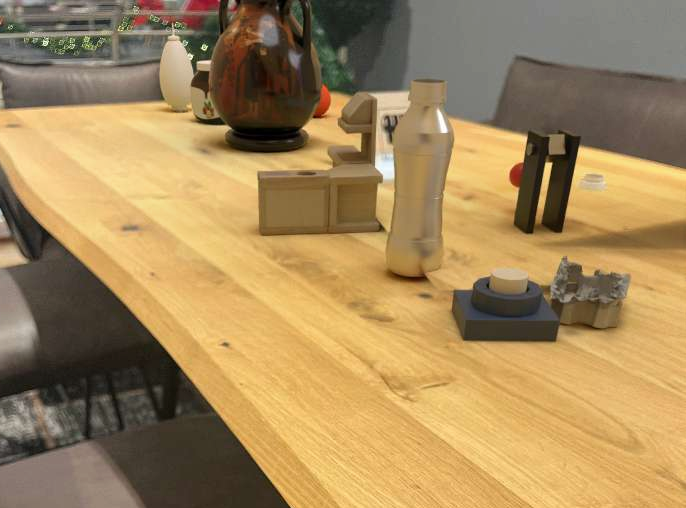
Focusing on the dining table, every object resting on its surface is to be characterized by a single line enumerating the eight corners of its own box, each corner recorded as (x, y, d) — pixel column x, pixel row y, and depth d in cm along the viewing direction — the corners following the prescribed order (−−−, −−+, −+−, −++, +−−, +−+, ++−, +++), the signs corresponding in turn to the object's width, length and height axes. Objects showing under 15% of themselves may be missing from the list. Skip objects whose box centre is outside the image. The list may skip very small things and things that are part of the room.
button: (521, 284, 76) (524, 267, 75) (529, 297, 74) (532, 279, 72) (485, 284, 76) (488, 266, 75) (492, 297, 74) (495, 279, 72)
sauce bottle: (181, 114, 178) (173, 24, 167) (156, 111, 181) (147, 22, 171) (202, 110, 183) (197, 22, 173) (177, 107, 186) (170, 20, 176)
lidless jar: (612, 199, 119) (597, 191, 123) (617, 179, 117) (601, 171, 121) (582, 200, 118) (568, 192, 122) (586, 179, 116) (572, 172, 120)
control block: (536, 311, 80) (543, 273, 78) (556, 342, 74) (564, 302, 71) (451, 309, 80) (455, 272, 78) (463, 341, 74) (468, 301, 71)
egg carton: (554, 289, 86) (562, 253, 83) (624, 299, 84) (634, 262, 81) (540, 322, 78) (547, 282, 75) (617, 334, 75) (627, 294, 73)
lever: (506, 191, 105) (504, 167, 105) (527, 190, 106) (526, 167, 106) (545, 157, 94) (543, 131, 93) (569, 157, 94) (568, 130, 94)
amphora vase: (339, 140, 154) (344, -28, 138) (288, 160, 139) (287, -26, 122) (248, 130, 162) (243, -30, 146) (190, 148, 147) (176, -29, 130)
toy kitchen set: (249, 199, 116) (245, 87, 107) (356, 196, 118) (361, 86, 109) (261, 236, 101) (258, 109, 92) (384, 231, 103) (392, 107, 94)
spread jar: (187, 121, 170) (182, 61, 164) (220, 114, 178) (217, 57, 171) (228, 127, 165) (225, 66, 158) (260, 120, 173) (259, 61, 166)
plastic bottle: (434, 287, 86) (455, 86, 74) (376, 279, 88) (388, 82, 76) (446, 269, 91) (468, 79, 79) (391, 262, 93) (404, 75, 81)
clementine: (319, 112, 182) (320, 79, 178) (339, 116, 178) (341, 82, 174) (294, 116, 178) (294, 81, 174) (314, 120, 174) (315, 84, 170)
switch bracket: (500, 231, 104) (516, 128, 96) (549, 229, 105) (568, 127, 97) (520, 247, 98) (539, 139, 91) (571, 244, 99) (593, 137, 92)
